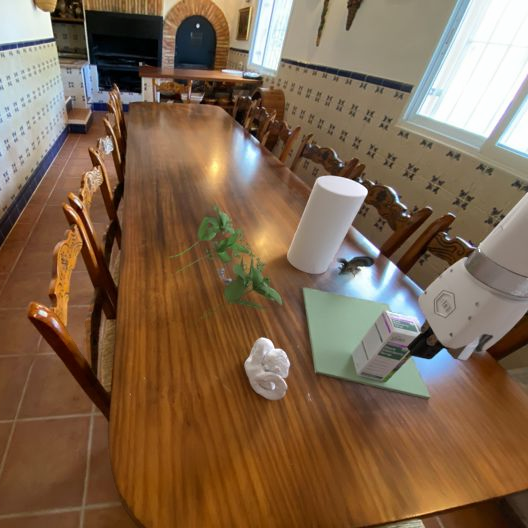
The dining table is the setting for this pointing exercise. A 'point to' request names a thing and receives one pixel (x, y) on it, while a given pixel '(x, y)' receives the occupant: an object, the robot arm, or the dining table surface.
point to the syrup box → (385, 346)
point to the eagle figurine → (355, 264)
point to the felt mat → (351, 340)
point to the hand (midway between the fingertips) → (418, 353)
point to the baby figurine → (267, 369)
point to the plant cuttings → (236, 286)
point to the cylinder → (325, 223)
